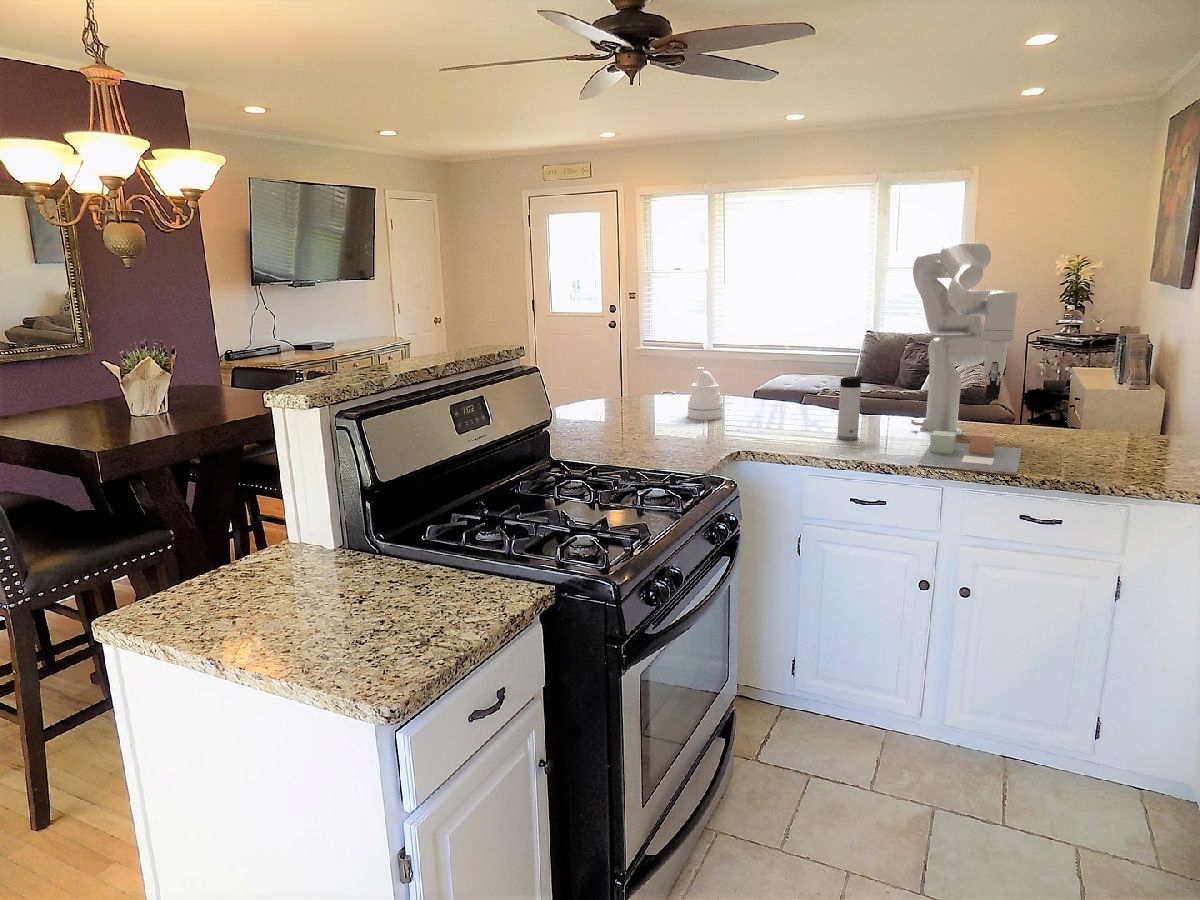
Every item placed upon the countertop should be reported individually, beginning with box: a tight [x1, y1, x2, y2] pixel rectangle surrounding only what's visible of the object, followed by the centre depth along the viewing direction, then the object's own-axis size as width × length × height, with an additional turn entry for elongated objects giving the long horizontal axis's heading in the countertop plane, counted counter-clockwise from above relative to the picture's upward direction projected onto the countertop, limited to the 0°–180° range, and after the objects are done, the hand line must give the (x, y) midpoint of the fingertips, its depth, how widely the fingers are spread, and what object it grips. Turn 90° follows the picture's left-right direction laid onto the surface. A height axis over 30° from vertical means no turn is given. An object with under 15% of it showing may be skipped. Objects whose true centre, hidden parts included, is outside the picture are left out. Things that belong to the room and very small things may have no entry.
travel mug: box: [837, 375, 863, 441], centre depth 249 cm, size 6×7×20 cm
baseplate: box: [917, 442, 1023, 478], centre depth 222 cm, size 24×30×1 cm
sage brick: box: [929, 431, 957, 454], centre depth 228 cm, size 6×6×5 cm
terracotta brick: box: [969, 430, 996, 454], centre depth 226 cm, size 6×6×5 cm
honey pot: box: [687, 366, 724, 421], centre depth 288 cm, size 13×13×18 cm
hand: (992, 396), depth 223 cm, fingers open, 9 cm apart
